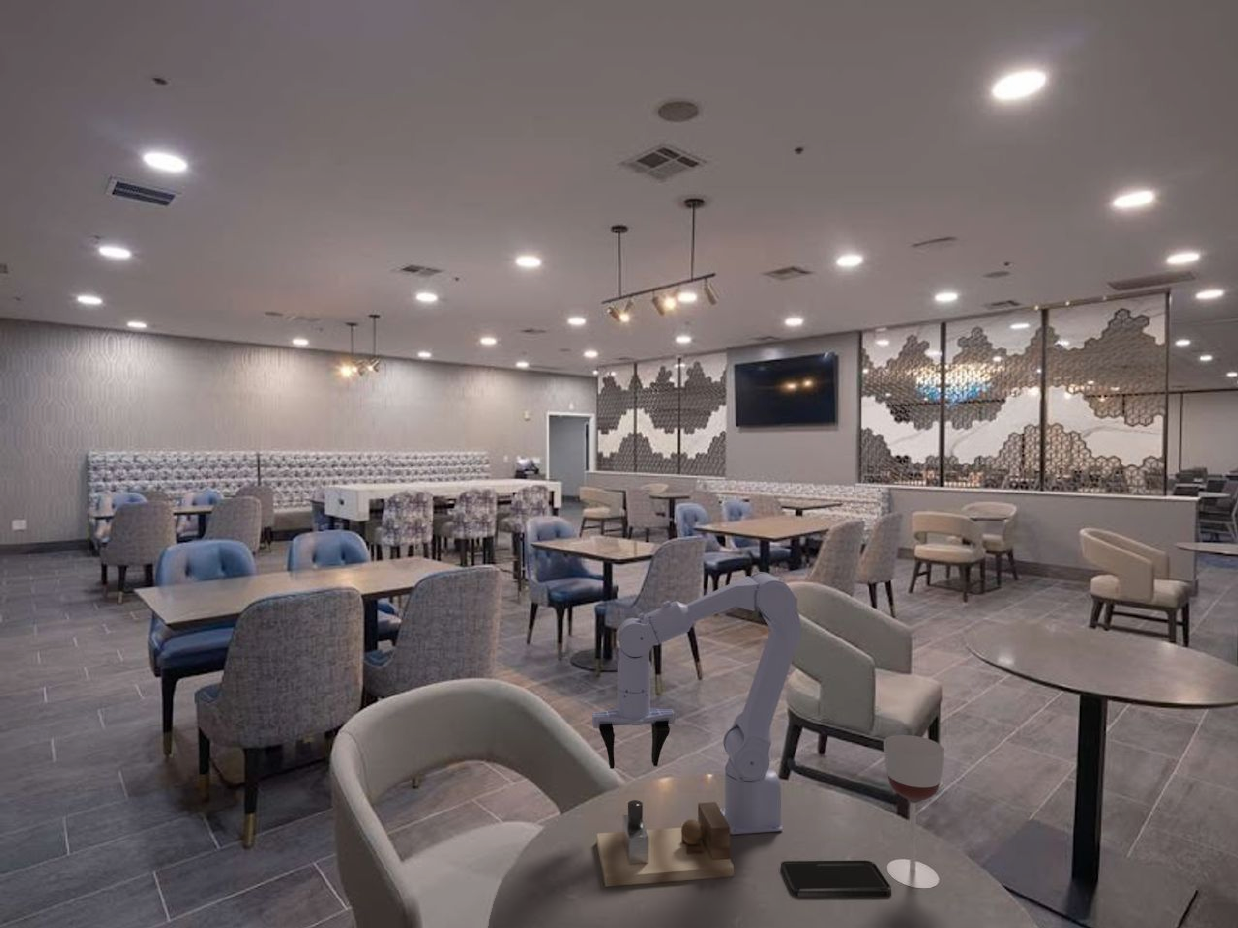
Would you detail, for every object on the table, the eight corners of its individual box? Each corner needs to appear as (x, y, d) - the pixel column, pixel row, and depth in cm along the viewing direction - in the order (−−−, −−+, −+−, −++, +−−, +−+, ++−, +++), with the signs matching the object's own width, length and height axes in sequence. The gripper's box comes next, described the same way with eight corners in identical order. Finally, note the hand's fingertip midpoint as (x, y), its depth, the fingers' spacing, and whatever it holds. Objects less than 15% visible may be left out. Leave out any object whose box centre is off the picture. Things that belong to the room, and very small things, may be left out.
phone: (893, 891, 99) (792, 891, 99) (893, 898, 99) (792, 899, 99) (872, 859, 107) (779, 860, 107) (872, 866, 107) (779, 867, 107)
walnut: (699, 836, 111) (700, 814, 111) (705, 848, 107) (706, 825, 107) (678, 837, 110) (678, 815, 110) (683, 850, 107) (684, 827, 107)
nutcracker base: (711, 833, 115) (712, 796, 115) (733, 875, 104) (734, 833, 104) (596, 842, 113) (596, 803, 113) (605, 886, 101) (605, 843, 101)
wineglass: (953, 889, 101) (953, 756, 101) (894, 888, 101) (895, 755, 101) (929, 858, 108) (930, 735, 109) (875, 857, 109) (876, 734, 109)
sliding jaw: (640, 837, 111) (640, 792, 111) (648, 862, 104) (648, 814, 104) (622, 839, 111) (622, 793, 111) (629, 864, 104) (629, 815, 104)
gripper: (595, 697, 114) (594, 777, 114) (679, 693, 116) (678, 772, 116) (591, 684, 121) (590, 759, 121) (670, 681, 123) (669, 755, 123)
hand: (633, 764), depth 119 cm, fingers open, 7 cm apart
